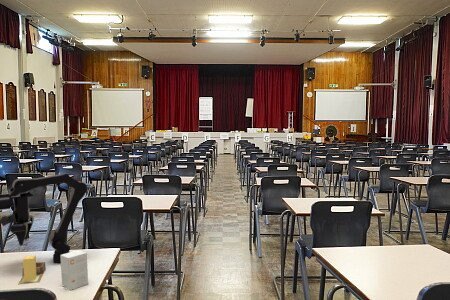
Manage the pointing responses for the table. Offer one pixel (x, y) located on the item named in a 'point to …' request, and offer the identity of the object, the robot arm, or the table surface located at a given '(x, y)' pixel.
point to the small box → (74, 269)
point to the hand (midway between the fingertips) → (23, 242)
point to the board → (32, 280)
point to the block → (29, 268)
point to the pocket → (39, 268)
